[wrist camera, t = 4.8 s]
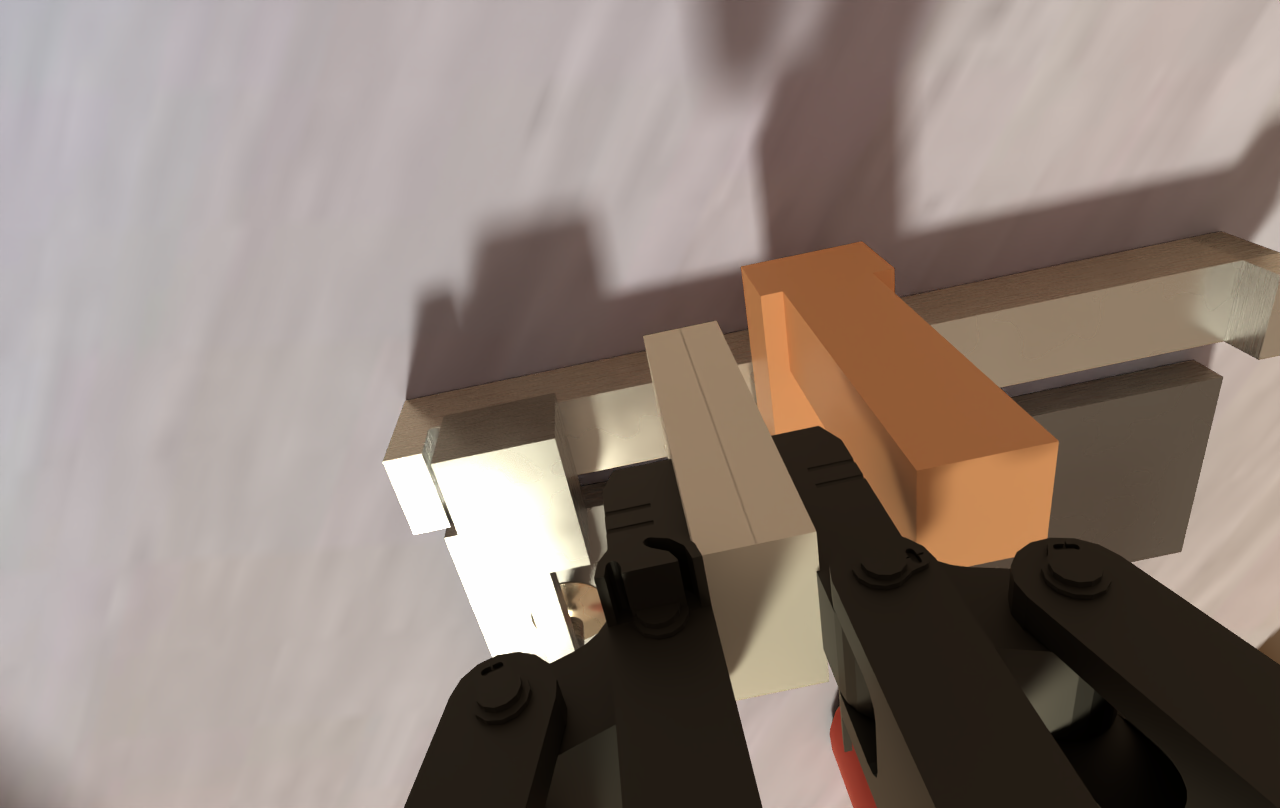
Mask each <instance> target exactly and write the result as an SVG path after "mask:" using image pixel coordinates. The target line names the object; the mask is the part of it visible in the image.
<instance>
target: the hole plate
mask: <svg viewBox="0 0 1280 808" xmlns="http://www.w3.org/2000/svg"><path fill="white" fill-rule="evenodd" d="M1222 380H1223V377H1222V376H1221V375H1219V374H1217V373H1216V372H1214V371H1212V370H1210V369H1209V368H1207V367H1205V366H1204V365H1202V364H1200V363H1198V362H1197V361H1195V360H1190V361H1185V362H1180V363H1175V364H1170V365H1166V366H1161V367H1156V368H1151V369H1146V370H1141V371H1137V372H1132V373H1127V374H1122V375H1117V376H1113V377H1108V378H1103V379H1098V380H1093V381H1088V382H1084V383H1079V384H1074V385H1069V386H1064V387H1059V388H1055V389H1050V390H1045V391H1040V392H1035V393H1030V394H1026V395H1021V396H1016V397H1011V398H1012V399H1013V400H1014V401H1015V402H1016V403H1017V404H1018V405H1019V406H1020V407H1022V408H1023V409H1024V410H1025V411H1026V412H1027V413H1028V414H1029V415H1030V416H1032V417H1033V418H1034V419H1035V420H1036V421H1037V422H1038V423H1039V424H1040V425H1042V426H1043V427H1044V428H1045V429H1046V430H1047V431H1048V432H1049V433H1050V434H1052V435H1053V436H1054V437H1055V438H1056V439H1057V440H1058V441H1059V445H1058V453H1057V462H1056V470H1055V478H1054V487H1053V495H1052V503H1051V512H1050V520H1049V528H1048V537H1047V538H1076V539H1080V540H1084V541H1088V542H1091V543H1095V544H1099V545H1101V546H1103V547H1105V548H1107V549H1109V550H1111V551H1113V552H1115V553H1117V554H1119V555H1120V556H1122V557H1123V558H1125V559H1126V560H1128V561H1129V562H1134V561H1139V560H1144V559H1149V558H1154V557H1158V556H1163V555H1168V554H1173V553H1178V552H1181V551H1182V547H1183V543H1184V538H1185V534H1186V530H1187V526H1188V522H1189V517H1190V513H1191V509H1192V505H1193V501H1194V497H1195V492H1196V488H1197V484H1198V480H1199V476H1200V472H1201V467H1202V463H1203V459H1204V455H1205V451H1206V447H1207V442H1208V438H1209V434H1210V430H1211V426H1212V421H1213V417H1214V413H1215V409H1216V405H1217V401H1218V396H1219V392H1220V388H1221V384H1222ZM607 482H608V481H605V482H601V483H596V484H591V485H586V486H581V490H582V493H583V497H584V501H585V504H586V508H587V513H588V530H589V547H590V564H591V565H586V566H581V567H576V568H571V569H566V570H562V571H557V572H556V574H557V577H558V580H559V583H560V587H561V590H562V593H563V596H564V599H565V602H566V606H567V609H568V612H569V615H570V617H577V618H579V619H581V620H582V621H583V623H584V642H585V644H586V643H588V642H589V641H590V640H591V639H592V638H593V637H594V636H595V635H596V634H597V633H598V632H599V631H600V629H601V628H602V627H603V625H604V624H605V622H606V619H605V615H604V612H603V608H602V605H601V601H600V598H599V595H598V591H597V588H596V584H595V581H594V576H595V571H596V566H597V563H598V562H599V560H600V559H601V558H602V556H603V555H604V554H605V552H606V551H607V550H608V549H607V538H606V534H607V533H606V526H605V514H604V503H603V490H604V488H605V486H606V484H607ZM445 541H446V543H447V546H448V548H449V551H450V553H451V556H452V558H453V561H454V563H455V566H456V568H457V571H458V573H459V576H460V578H461V580H462V583H463V585H464V588H465V590H466V593H467V595H468V598H469V600H470V603H471V605H472V608H473V610H474V613H475V615H476V618H477V620H478V623H479V625H480V628H481V630H482V632H483V635H484V637H485V640H486V642H487V645H488V647H489V650H490V652H491V655H492V657H494V656H496V655H501V654H506V653H512V652H524V653H530V654H536V655H537V656H539V657H540V658H542V659H543V660H545V661H546V662H548V663H549V661H548V658H547V655H546V652H545V649H544V647H543V644H542V641H541V638H540V635H539V632H538V629H537V627H536V624H535V621H534V618H533V615H532V612H531V610H530V607H529V604H528V601H527V598H526V595H525V592H524V590H523V587H522V584H521V581H520V579H518V580H513V581H508V582H503V583H499V584H494V585H489V586H484V587H478V584H477V581H476V579H475V576H474V574H473V571H472V569H471V566H470V563H469V561H468V558H467V556H466V553H465V551H464V548H463V546H462V543H461V540H460V538H459V535H458V533H457V530H456V528H455V525H454V523H453V520H452V522H451V527H449V528H446V533H445ZM1013 559H1014V557H1012V558H1007V559H1002V560H998V561H993V562H988V563H983V564H978V565H973V566H969V567H982V568H1009V569H1010V568H1011V564H1012V561H1013Z"/></svg>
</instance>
